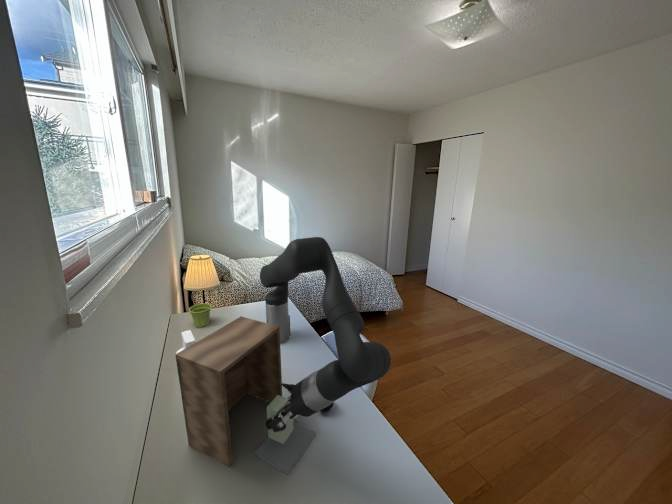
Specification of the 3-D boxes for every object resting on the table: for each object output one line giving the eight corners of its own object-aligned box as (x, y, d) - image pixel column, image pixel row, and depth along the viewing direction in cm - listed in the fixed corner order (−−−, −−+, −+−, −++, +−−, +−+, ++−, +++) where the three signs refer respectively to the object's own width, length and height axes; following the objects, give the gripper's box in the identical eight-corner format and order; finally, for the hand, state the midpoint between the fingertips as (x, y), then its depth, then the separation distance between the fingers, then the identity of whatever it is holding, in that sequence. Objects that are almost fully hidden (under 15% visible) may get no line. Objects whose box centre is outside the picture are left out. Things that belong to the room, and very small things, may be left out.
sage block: (279, 423, 72) (277, 394, 70) (293, 429, 70) (292, 400, 68) (268, 437, 68) (266, 407, 66) (283, 444, 66) (281, 413, 64)
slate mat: (286, 418, 77) (286, 417, 77) (316, 434, 72) (316, 432, 72) (255, 454, 67) (255, 452, 67) (287, 475, 62) (287, 473, 62)
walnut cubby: (188, 444, 69) (175, 354, 63) (246, 390, 88) (240, 316, 81) (230, 468, 63) (220, 371, 57) (282, 404, 82) (279, 326, 76)
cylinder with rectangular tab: (175, 364, 100) (171, 334, 97) (202, 355, 105) (199, 327, 102) (179, 377, 93) (175, 346, 90) (208, 367, 98) (204, 337, 96)
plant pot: (207, 329, 124) (205, 312, 122) (186, 329, 124) (184, 312, 122) (216, 320, 133) (214, 303, 131) (197, 319, 133) (195, 303, 131)
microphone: (280, 397, 89) (329, 419, 78) (274, 385, 87) (324, 406, 76) (290, 383, 93) (339, 402, 82) (284, 371, 91) (334, 389, 80)
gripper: (319, 360, 68) (281, 387, 76) (287, 400, 55) (245, 427, 63) (338, 385, 67) (298, 409, 75) (310, 431, 55) (264, 454, 62)
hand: (274, 417), depth 69 cm, fingers closed on sage block, 4 cm apart
